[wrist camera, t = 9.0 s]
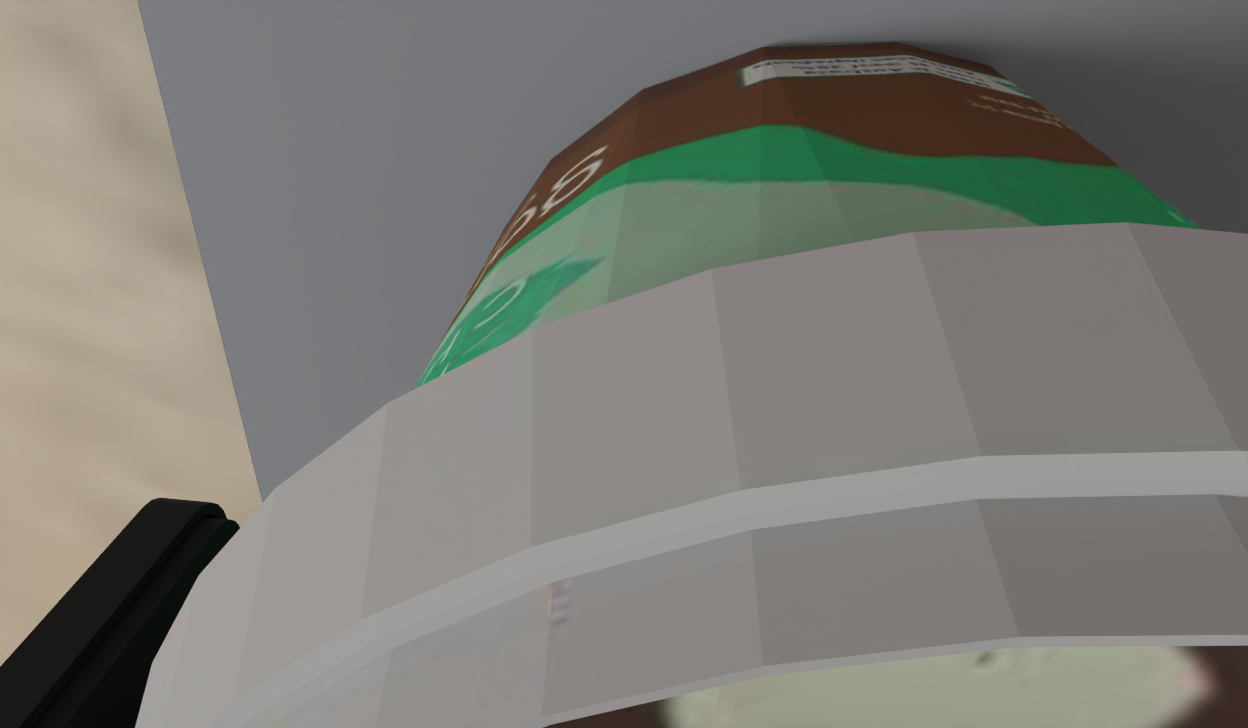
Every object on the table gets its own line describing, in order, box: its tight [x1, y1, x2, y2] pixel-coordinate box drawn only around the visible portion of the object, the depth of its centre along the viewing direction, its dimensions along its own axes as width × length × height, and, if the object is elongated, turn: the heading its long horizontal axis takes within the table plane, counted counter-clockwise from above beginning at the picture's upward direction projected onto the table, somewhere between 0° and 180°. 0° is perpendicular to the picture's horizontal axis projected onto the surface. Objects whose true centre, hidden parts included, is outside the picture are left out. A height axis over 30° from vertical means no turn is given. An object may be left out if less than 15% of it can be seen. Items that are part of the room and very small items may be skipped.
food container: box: [135, 42, 1248, 728], centre depth 10 cm, size 12×6×10 cm, turn 162°
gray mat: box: [137, 0, 1248, 503], centre depth 15 cm, size 14×15×1 cm
